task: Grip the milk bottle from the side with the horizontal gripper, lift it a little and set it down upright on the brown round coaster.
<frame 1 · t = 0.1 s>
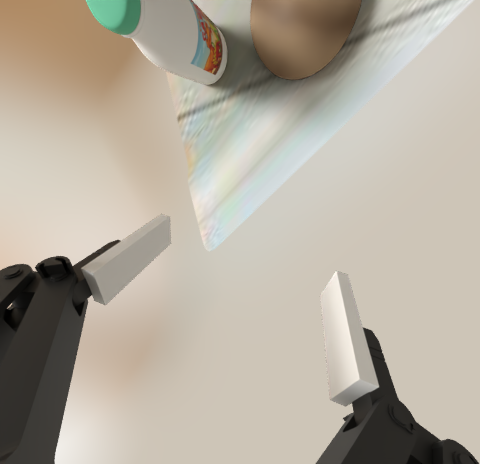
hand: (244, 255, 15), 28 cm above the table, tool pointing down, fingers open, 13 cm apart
milk bottle: (207, 56, 32), on the table
brown round coaster: (302, 16, 26), on the table
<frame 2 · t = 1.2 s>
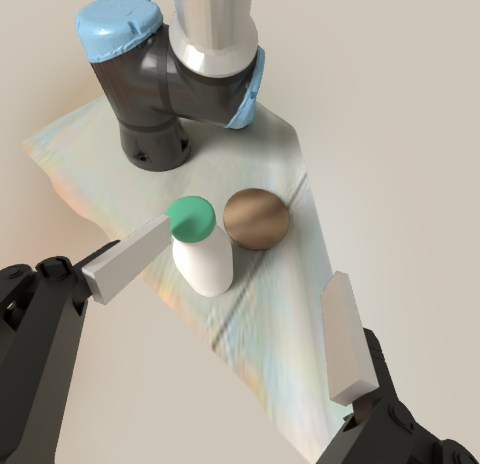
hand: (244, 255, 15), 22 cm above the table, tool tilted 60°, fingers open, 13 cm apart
milk bottle: (212, 276, 35), on the table
brown round coaster: (255, 220, 41), on the table
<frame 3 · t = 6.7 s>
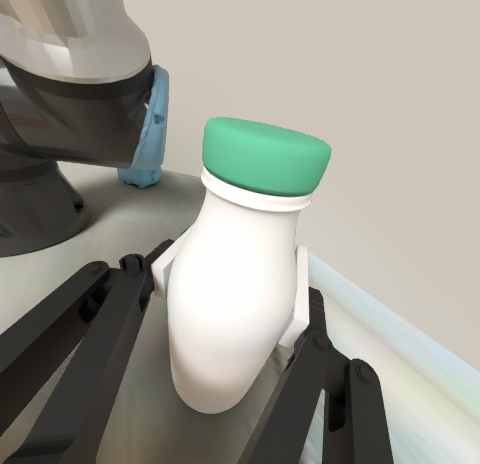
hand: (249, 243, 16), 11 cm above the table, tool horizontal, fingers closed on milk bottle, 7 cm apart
milk bottle: (213, 361, 18), on the table, touching gripper
light blue sponge: (138, 182, 47), on the table
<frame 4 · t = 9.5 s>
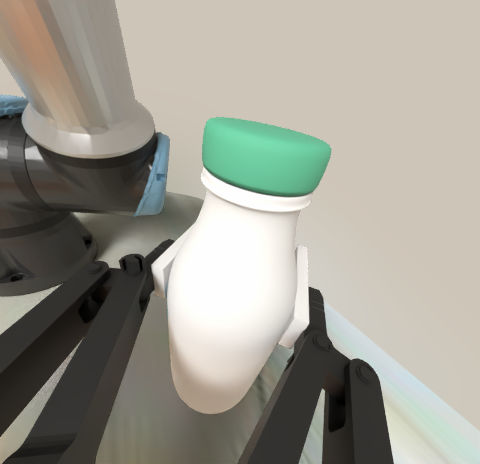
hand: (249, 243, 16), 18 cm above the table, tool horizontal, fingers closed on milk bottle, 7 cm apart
milk bottle: (213, 361, 18), point 7 cm above the table, touching gripper
when the fingers open (14 cm above the table, at t = 12.5 s): milk bottle stays where it is, resting on brown round coaster.
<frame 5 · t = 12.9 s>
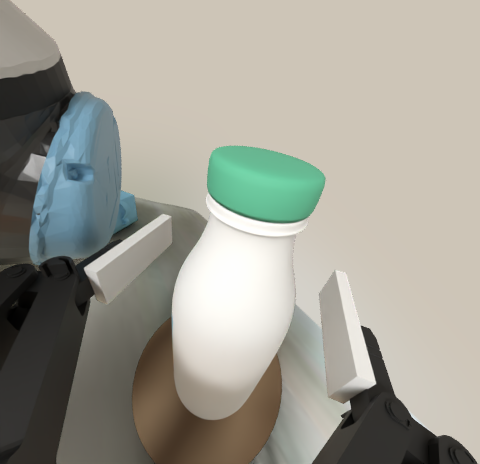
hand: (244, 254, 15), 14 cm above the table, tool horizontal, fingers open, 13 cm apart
milk bottle: (215, 368, 19), point 2 cm above the table, touching brown round coaster
light blue sponge: (107, 224, 36), on the table
brown round coaster: (210, 372, 20), on the table
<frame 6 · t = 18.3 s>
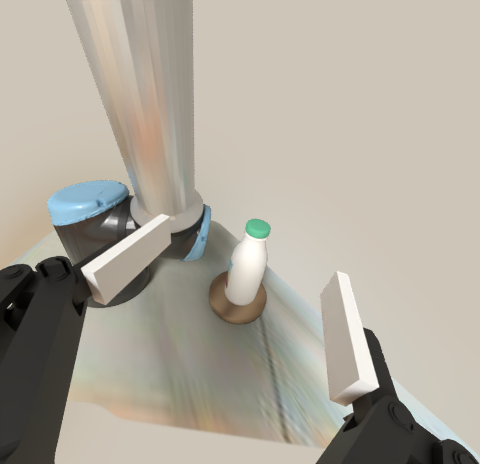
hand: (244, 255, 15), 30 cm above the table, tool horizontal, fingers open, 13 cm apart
milk bottle: (239, 293, 46), point 2 cm above the table, touching brown round coaster
brown round coaster: (237, 296, 47), on the table
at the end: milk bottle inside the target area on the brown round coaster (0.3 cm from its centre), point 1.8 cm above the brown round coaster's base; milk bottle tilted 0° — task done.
